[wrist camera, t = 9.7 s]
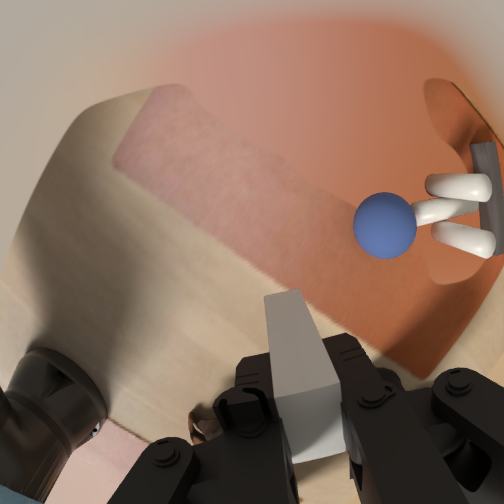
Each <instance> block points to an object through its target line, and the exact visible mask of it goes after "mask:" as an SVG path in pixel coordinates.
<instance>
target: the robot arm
mask: <svg viewBox="0 0 504 504" xmlns="http://www.w3.org/2000/svg"><path fill="white" fill-rule="evenodd" d="M264 303H265V313H266V322H267V332H268V341H269V351H270V352H269V353H264V354H259V355H254V356H249V357H244V358H242V360H241V361H240V362H239V364H238V365H237V367H236V375H235V378H236V379H235V387H233V388H230V389H229V390H227V391H225V392H223V393H222V394H221V395H220V396H219V397H218V398H217V399H216V400H215V402H214V404H213V406H212V407H213V410H214V412H215V414H216V416H217V419H218V421H219V423H220V425H221V428H222V430H223V433H222V434H220V435H219V436H217V437H216V438H213V439H211V440H209V441H206V442H202V443H199V444H196V445H193V446H191V445H190V444H189V443H188V442H187V441H186V440H184V439H181V438H178V437H166V438H163V439H159V440H157V441H155V442H153V443H151V444H150V445H149V446H148V447H147V448H146V449H145V450H144V451H143V452H142V454H141V455H140V457H139V458H138V459H137V461H136V462H135V464H134V465H133V467H132V468H131V470H130V471H129V473H128V474H127V475H126V477H125V478H124V480H123V481H122V483H121V484H120V485H119V487H118V488H117V490H116V491H115V493H114V494H113V495H112V497H111V498H110V500H109V501H108V503H107V504H300V503H299V496H298V489H297V482H296V477H295V474H294V470H293V464H295V463H300V462H305V461H310V460H314V459H319V458H323V457H327V456H331V455H335V454H339V453H342V452H346V447H347V451H348V454H349V461H350V479H354V482H355V485H356V488H357V492H358V495H359V498H360V501H361V504H504V387H502V386H500V385H498V384H497V383H495V382H493V381H492V380H490V379H488V378H486V377H485V376H483V375H481V374H479V373H478V372H476V371H474V370H471V369H468V368H454V369H449V370H447V371H445V372H443V373H441V374H440V375H439V376H438V377H437V378H436V379H435V381H434V384H433V388H429V389H422V390H416V391H402V390H400V389H399V388H398V387H397V386H395V385H394V384H393V383H390V382H387V381H383V379H382V377H381V376H380V374H379V373H378V371H377V370H376V368H375V366H374V365H373V363H372V362H371V360H370V359H369V357H368V355H366V352H365V351H364V349H363V348H362V346H361V345H360V343H359V342H358V340H357V339H356V338H355V337H353V336H351V335H349V334H347V333H343V334H339V335H335V336H332V337H328V338H324V339H321V337H320V335H319V332H318V330H317V328H316V326H315V323H314V321H313V319H312V317H311V314H310V312H309V310H308V308H307V305H306V303H305V301H304V299H303V297H302V294H301V292H300V290H299V288H297V289H293V290H289V291H285V292H280V293H276V294H272V295H267V296H264ZM106 416H107V411H106V406H105V402H104V400H103V398H102V396H101V394H100V392H99V390H98V389H97V387H96V386H95V384H94V383H93V382H92V380H91V379H90V378H89V377H88V376H87V375H86V373H85V372H84V371H83V370H81V369H80V368H79V367H78V366H77V365H76V364H75V363H73V362H72V361H71V360H69V359H68V358H66V357H65V356H63V355H61V354H59V353H57V352H55V351H53V350H50V349H45V348H36V349H33V350H31V351H30V352H29V353H27V354H26V355H25V356H24V357H23V358H22V359H21V360H20V361H19V363H18V365H17V367H16V370H15V372H14V374H13V376H12V379H11V381H10V383H9V386H8V388H7V390H6V391H5V392H3V390H2V388H1V387H0V504H44V503H45V501H46V499H47V497H48V496H49V494H50V492H51V490H52V488H53V486H54V484H55V482H56V481H57V479H58V477H59V475H60V473H61V471H62V470H63V468H64V466H65V464H66V462H67V460H68V459H69V457H70V455H71V454H72V452H73V451H74V450H76V449H77V448H79V447H80V446H82V445H83V444H84V443H86V442H87V441H89V440H90V439H91V438H93V437H94V436H96V435H97V434H98V433H99V431H100V430H101V428H102V426H103V424H104V423H105V421H106ZM345 444H346V446H345Z"/></svg>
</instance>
